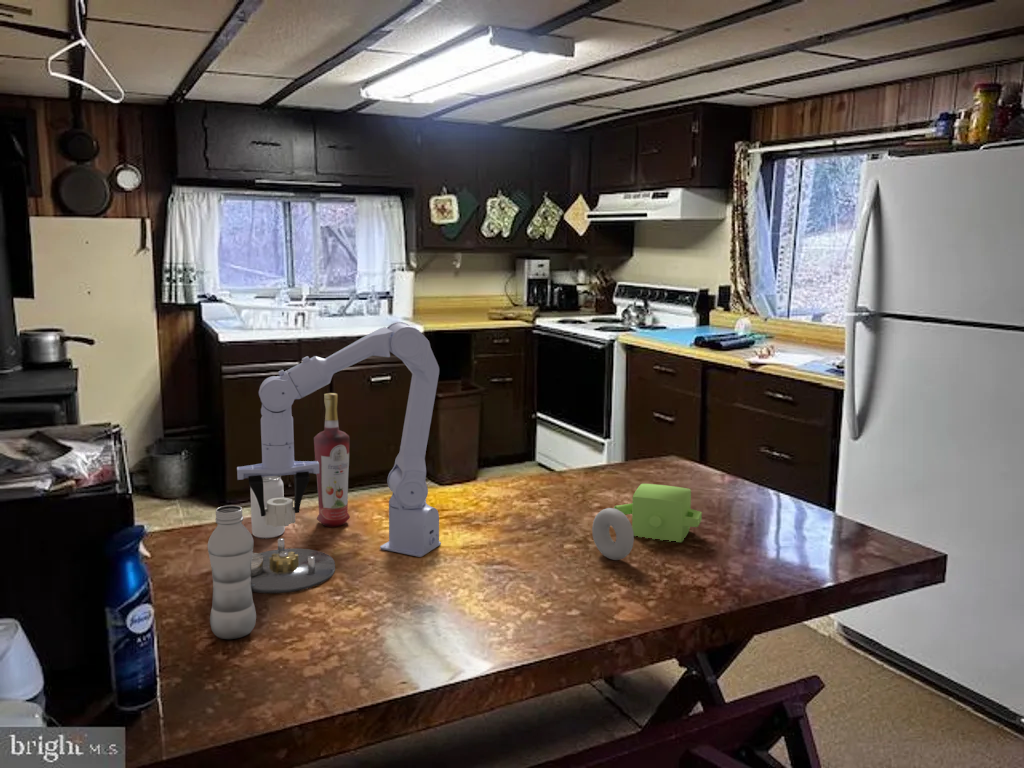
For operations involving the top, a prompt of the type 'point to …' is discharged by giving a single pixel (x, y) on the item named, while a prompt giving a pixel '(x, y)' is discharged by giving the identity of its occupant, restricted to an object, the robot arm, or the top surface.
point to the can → (270, 490)
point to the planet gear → (279, 512)
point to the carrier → (289, 569)
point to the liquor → (332, 467)
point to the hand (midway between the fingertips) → (280, 512)
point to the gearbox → (661, 512)
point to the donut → (622, 531)
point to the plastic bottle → (231, 575)
